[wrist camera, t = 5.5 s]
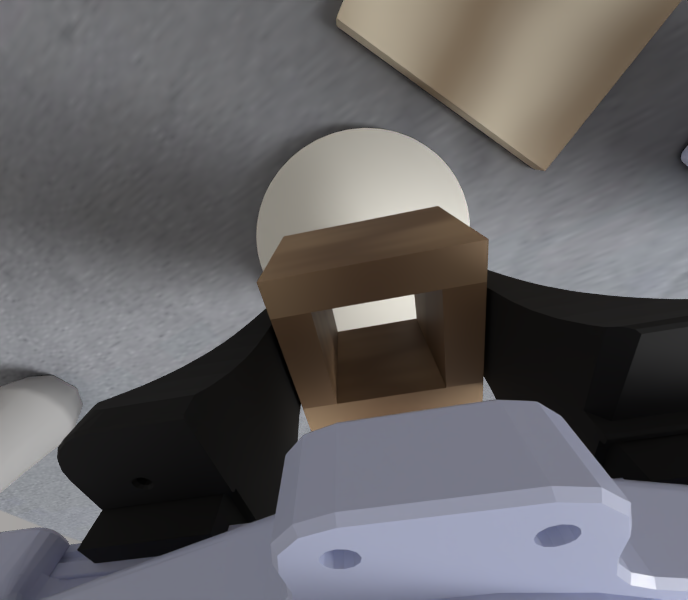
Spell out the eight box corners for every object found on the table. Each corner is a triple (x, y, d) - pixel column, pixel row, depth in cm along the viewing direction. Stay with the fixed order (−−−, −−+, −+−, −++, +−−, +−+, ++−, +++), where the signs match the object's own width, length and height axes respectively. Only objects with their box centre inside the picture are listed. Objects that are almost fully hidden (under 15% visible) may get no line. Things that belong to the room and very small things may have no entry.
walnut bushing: (438, 205, 10) (488, 239, 7) (443, 335, 13) (482, 407, 9) (283, 236, 11) (256, 282, 7) (319, 355, 13) (311, 431, 10)
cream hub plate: (507, 203, 17) (575, 228, 12) (390, 352, 22) (405, 413, 17) (316, 75, 14) (303, 41, 9) (232, 280, 19) (195, 329, 14)
